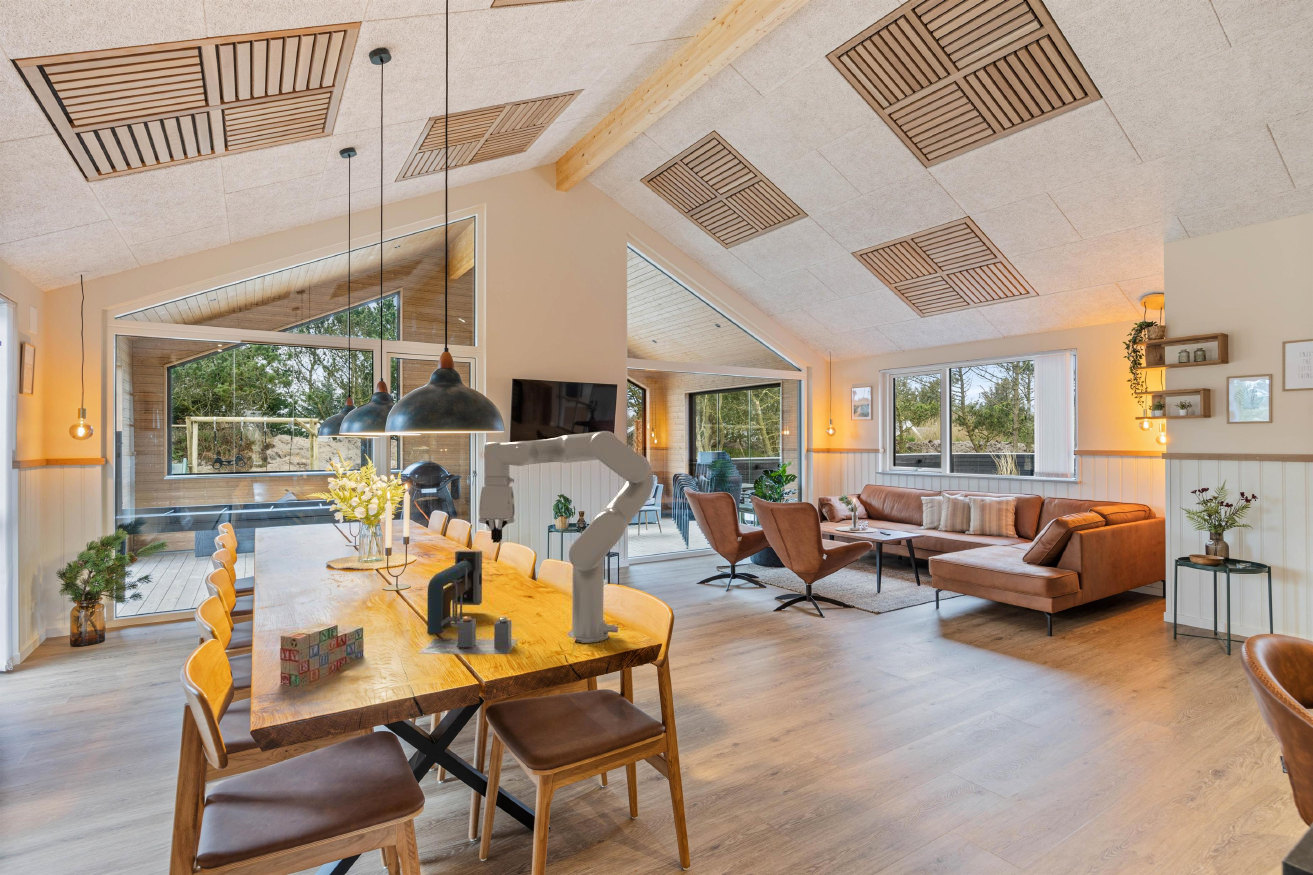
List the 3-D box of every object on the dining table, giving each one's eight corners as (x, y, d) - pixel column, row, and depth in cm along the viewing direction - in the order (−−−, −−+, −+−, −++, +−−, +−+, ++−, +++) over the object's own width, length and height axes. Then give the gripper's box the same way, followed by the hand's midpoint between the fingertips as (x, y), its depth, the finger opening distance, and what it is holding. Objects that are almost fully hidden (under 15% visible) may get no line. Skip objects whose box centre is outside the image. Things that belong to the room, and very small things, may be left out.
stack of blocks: (346, 658, 189) (346, 613, 189) (364, 660, 187) (364, 615, 187) (279, 684, 169) (279, 634, 169) (299, 687, 167) (299, 637, 167)
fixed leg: (511, 644, 198) (511, 616, 198) (508, 648, 194) (508, 620, 194) (497, 643, 198) (497, 616, 198) (494, 648, 194) (494, 620, 194)
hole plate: (518, 642, 203) (518, 638, 203) (507, 658, 189) (507, 653, 189) (434, 642, 203) (434, 638, 203) (417, 657, 189) (417, 653, 189)
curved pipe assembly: (442, 641, 205) (442, 570, 204) (414, 640, 205) (414, 569, 205) (481, 611, 239) (482, 550, 239) (457, 611, 240) (457, 550, 240)
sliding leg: (475, 642, 198) (475, 615, 198) (471, 647, 194) (471, 618, 194) (461, 642, 198) (461, 615, 198) (457, 646, 194) (457, 618, 194)
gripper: (523, 481, 213) (523, 540, 213) (475, 481, 213) (475, 540, 213) (518, 483, 205) (518, 544, 205) (469, 482, 205) (468, 543, 205)
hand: (496, 541), depth 209 cm, fingers closed
